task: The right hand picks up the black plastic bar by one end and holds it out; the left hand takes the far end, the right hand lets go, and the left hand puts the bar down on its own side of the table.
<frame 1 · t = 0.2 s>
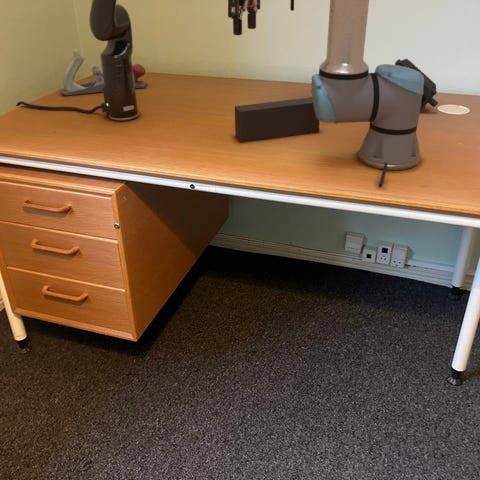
left hand: (244, 31, 139), 29 cm above the table, tool pointing down, fingers open, 8 cm apart
right hand: (313, 9, 165), 29 cm above the table, tool pointing down, fingers open, 13 cm apart
tool: (404, 107, 174), on the table
bar: (277, 134, 156), on the table
hand plane: (105, 89, 198), on the table
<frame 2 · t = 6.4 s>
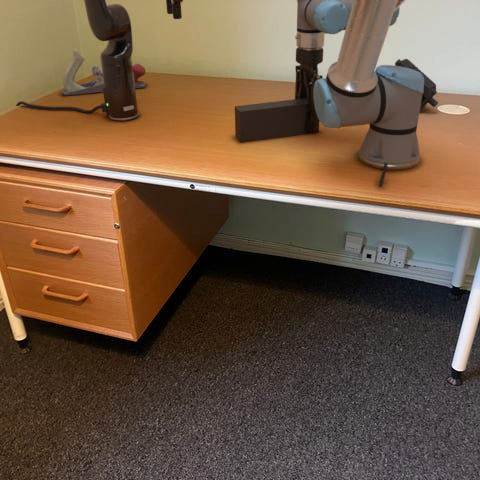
left hand: (174, 16, 146), 32 cm above the table, tool pointing down, fingers open, 8 cm apart
right hand: (305, 128, 158), 1 cm above the table, tool pointing down, fingers closed on bar, 5 cm apart
bar: (277, 134, 156), on the table, touching right hand
everything else where it was.
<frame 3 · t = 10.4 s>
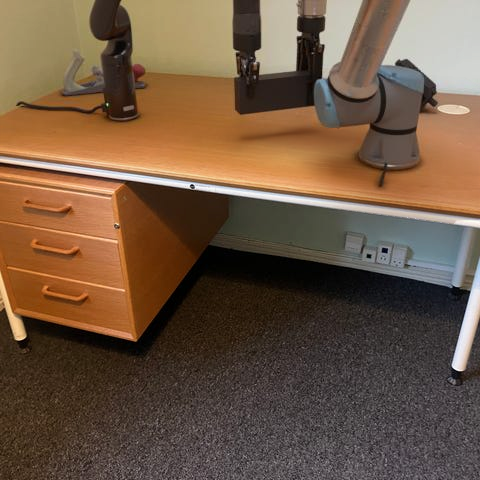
left hand: (247, 94, 147), 13 cm above the table, tool pointing down, fingers closed on bar, 5 cm apart
right hand: (307, 101, 153), 9 cm above the table, tool pointing down, fingers closed on bar, 5 cm apart
bar: (278, 107, 151), point 8 cm above the table, touching right hand, left hand
everything else where it was.
when the right hand's fingers open (9 cm above the table, at t = 11.1 s): bar stays where it is, held by the left hand.
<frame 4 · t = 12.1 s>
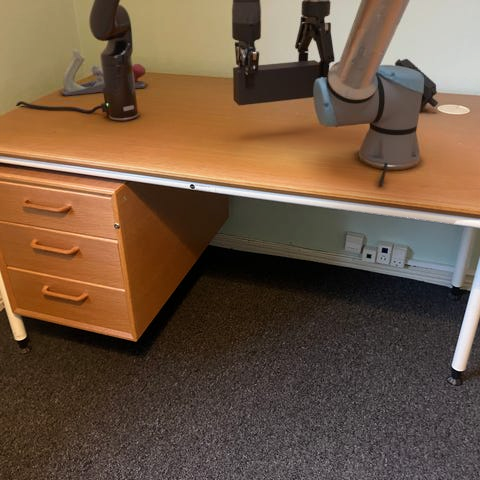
left hand: (246, 85, 145), 15 cm above the table, tool pointing down, fingers closed on bar, 5 cm apart
right hand: (312, 81, 150), 14 cm above the table, tool pointing down, fingers open, 13 cm apart
bar: (277, 98, 150), point 11 cm above the table, touching left hand
everything else where it was.
when the left hand's fingers open (5 cm above the table, at t = 16.0 s): bar stays where it is, on the table.
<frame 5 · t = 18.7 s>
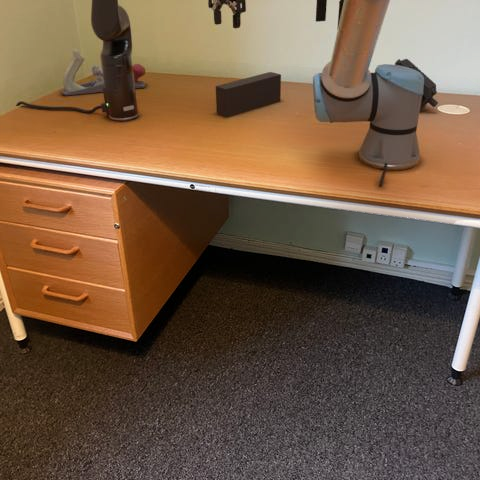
left hand: (227, 26, 158), 27 cm above the table, tool pointing down, fingers open, 8 cm apart
right hand: (331, 25, 144), 29 cm above the table, tool pointing down, fingers open, 13 cm apart
bar: (249, 107, 177), on the table
everything else where it was.
at the end: bar inside the target area (8.7 cm from its centre), on the table; the left hand is holding nothing; the right hand is holding nothing; bar at rest at the end (0.0 cm/s) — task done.
